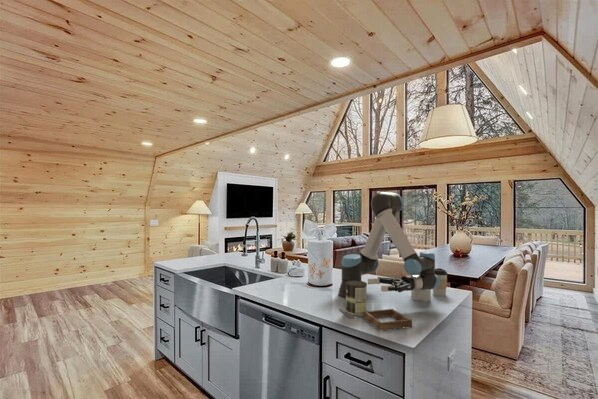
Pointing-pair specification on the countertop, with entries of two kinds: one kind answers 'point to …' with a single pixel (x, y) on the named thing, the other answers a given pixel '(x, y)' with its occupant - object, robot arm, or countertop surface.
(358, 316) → the mat
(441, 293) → the coffee cup
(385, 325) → the brown wooden square frame
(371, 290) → the countertop surface
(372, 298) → the countertop surface
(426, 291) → the supplement box
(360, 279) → the robot arm
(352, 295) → the coffee can
